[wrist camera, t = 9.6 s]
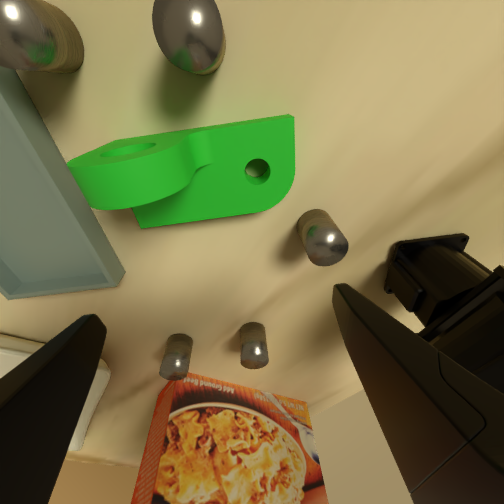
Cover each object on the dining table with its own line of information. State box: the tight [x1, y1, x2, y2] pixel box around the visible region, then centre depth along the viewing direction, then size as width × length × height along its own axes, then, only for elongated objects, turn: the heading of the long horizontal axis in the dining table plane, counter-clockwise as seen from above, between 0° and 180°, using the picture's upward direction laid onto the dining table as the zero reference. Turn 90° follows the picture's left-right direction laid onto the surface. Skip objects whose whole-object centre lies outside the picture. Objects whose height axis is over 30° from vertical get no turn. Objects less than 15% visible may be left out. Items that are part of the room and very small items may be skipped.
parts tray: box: [0, 66, 125, 300], centre depth 18 cm, size 10×16×2 cm, turn 7°
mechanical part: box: [67, 114, 295, 229], centre depth 15 cm, size 12×6×8 cm, turn 97°
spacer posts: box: [0, 0, 348, 381], centre depth 20 cm, size 19×31×4 cm, turn 7°
